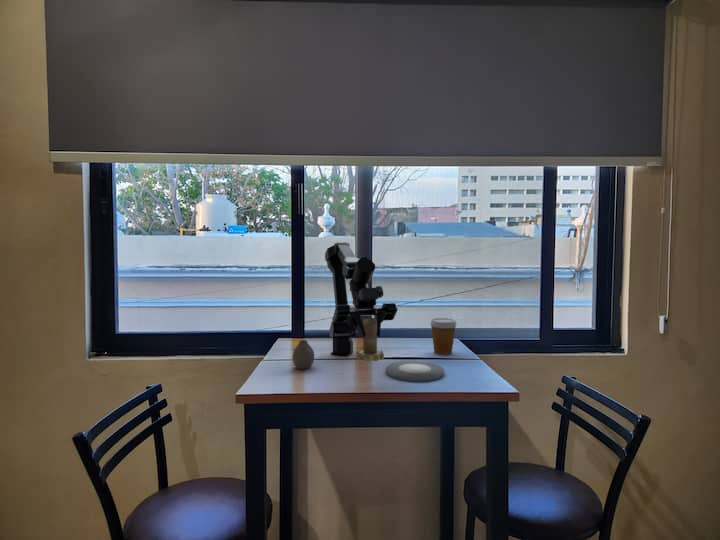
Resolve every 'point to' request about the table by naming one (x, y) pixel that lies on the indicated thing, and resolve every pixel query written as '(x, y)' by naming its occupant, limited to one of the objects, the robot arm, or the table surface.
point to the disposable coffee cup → (443, 335)
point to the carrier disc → (415, 371)
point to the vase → (303, 355)
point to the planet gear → (370, 342)
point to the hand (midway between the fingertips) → (371, 336)
